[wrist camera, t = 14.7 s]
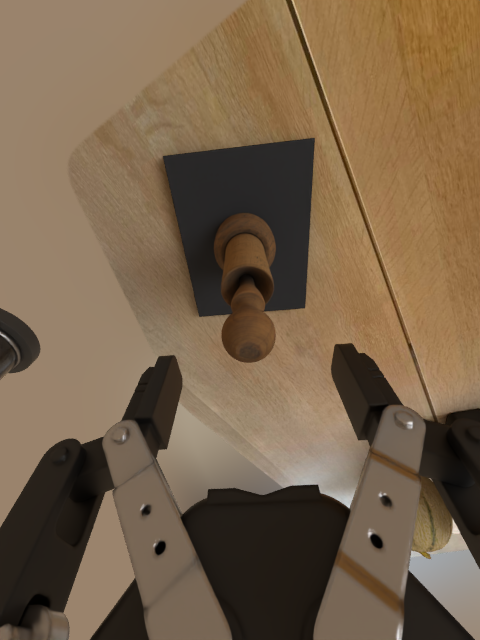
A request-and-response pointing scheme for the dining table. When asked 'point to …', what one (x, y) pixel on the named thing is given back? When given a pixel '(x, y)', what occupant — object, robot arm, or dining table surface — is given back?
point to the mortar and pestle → (246, 285)
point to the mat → (245, 197)
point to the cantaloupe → (431, 520)
